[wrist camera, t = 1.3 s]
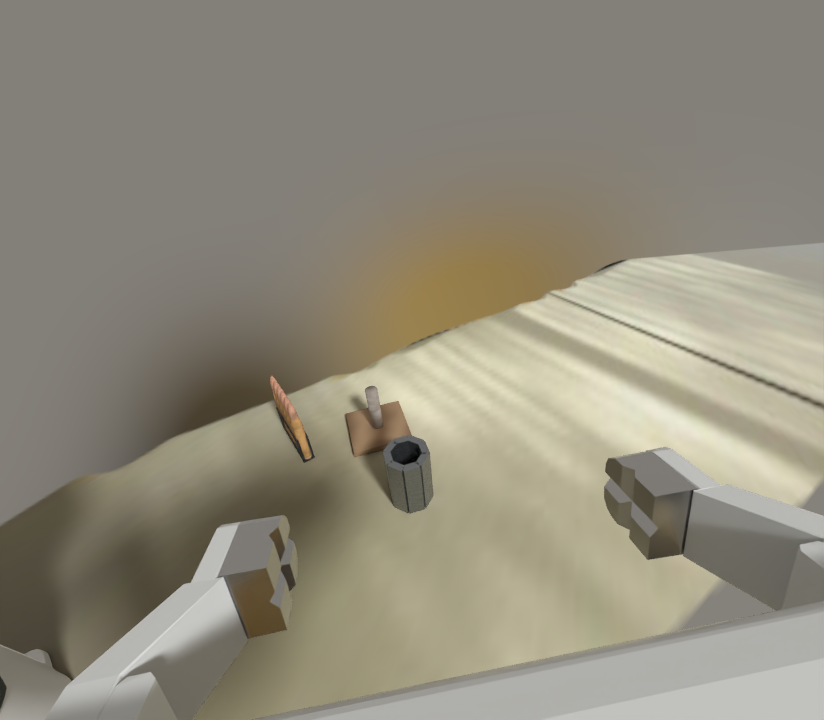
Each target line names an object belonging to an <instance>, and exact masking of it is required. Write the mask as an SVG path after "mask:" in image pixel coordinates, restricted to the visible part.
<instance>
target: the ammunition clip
mask: <svg viewBox="0 0 824 720" xmlns="http://www.w3.org/2000/svg"><path fill="white" fill-rule="evenodd" d="M270 383H271V387H272V390H273V394H274V399H275V402H276V405H277V407H276V408H277V410H278V413H279V416H280V419H281V421H282V424H283V427H284V429H285V430H286V432H287V434H288V436H289V437H290V439H291V441H292V442H293V444H294V446H295V448H296V449H297V451H298V453H299V454H300V456H301V458H302V460H303V461H304V462H306V461H308V460H310V459H312V458H314V454H313V451H312V448H311V445H310V442H309V439H308V436H307V434H306V433H305V431H304V428H303V425H302V422H301V421H300V419H299V417H298V415H297V412H296V410H295V408H294V407H293V405H292V404H291V402H290V401H289V399H288V398H287V396H286V395H285V393H284V392H283V390H282V389H281V387H280V386H279V384H278V383H277V381H276V380H275V378H274V377H273V376H271V377H270Z"/></svg>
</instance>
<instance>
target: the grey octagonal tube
mask: <svg viewBox="0 0 824 720" xmlns="http://www.w3.org/2000/svg"><path fill="white" fill-rule="evenodd" d="M383 457H384V462H385V467H386V473H387V478H388V484H389V489H390V494H391V498H392V502H393V505H394V506H395V508H398V509H400V510H402V511H404V512H406V513H409V512H410V513H413V512H416V511H420V510H423V509H425V508H426V507H427V506H428V504H429V502H430V500H431V499H432V497H433V485H432V474H431V462H430V452H429V450H428V447H427V445H426V443H425V441H424V440H422V439H419V438H416V437H414V436H411V435H410V436H408V435H407V436H403V437H399V438H396V439H393V440H391V441H390V443H389V444H388V445H387V447H386V448H385V449H384V450H383Z"/></svg>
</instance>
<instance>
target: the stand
mask: <svg viewBox="0 0 824 720" xmlns="http://www.w3.org/2000/svg"><path fill="white" fill-rule="evenodd" d="M365 393H366V398H367V403H368V408H367V409H363V410H359V411H355V412H351V413H347V414H346V417H347V422H348V427H349V432H350V436H351V441H352V446H353V451H354V455H355V457H357V456H361V455H365V454H369V453H372V452H376V451H380V450H384V449H385V448H386V447H387V445H388V444H389V443H390V441H391V440H393V439H396V438H399V437H403V436H407V435H408V436H410V435H411V432H410V430H409V427H408V425H407V422H406V419H405V417H404V414H403V412H402V409H401V407H400V404H399V401H396V402H392V403H388V404H384V405H380V402H379V397H378V391H377V388H376V387H375V386H370V387H367V388H366V389H365ZM411 436H412V435H411Z"/></svg>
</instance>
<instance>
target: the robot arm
mask: <svg viewBox="0 0 824 720" xmlns="http://www.w3.org/2000/svg"><path fill="white" fill-rule="evenodd" d="M605 472H606V473H607V474H608V476H609V477H610V479H609V481H608V482H607V484H606V485H605V486H604V499H605V502H606V506H607V509H608V511H609V512H610V514H611V516H612V517H613V519H614V520H615V521H616V522H617V524H619V525H621V526H623V527H625V528H627V529H629V530H630V533H629V538H630V539H631V541H632V542H633V543H634V544H635V545H636V547H637V548H638V549H639V550H640V551H641V553H642V554H643V555H644V556H645V557H646V559H647V560H650V559H657V558H663V557H669V556H675V555H681V554H683V556H684V557H686V558H687V559H689V560H691V561H692V562H694V563H696V564H697V565H699V566H701V567H703V568H704V569H706V570H708V571H709V572H711V573H713V574H715V575H716V576H718V577H720V578H721V579H723V580H725V581H726V582H728V583H730V584H732V585H734V586H735V587H737V588H738V589H740V590H742V591H744V592H745V593H747V594H749V595H750V596H752V597H754V598H756V599H757V600H759V601H761V602H762V603H764V604H766V605H767V606H769V607H771V608H772V609H774V610H776V611H772V612H767V613H762V614H757V615H753V616H748V617H743V618H738V619H733V620H728V621H724V622H719V623H714V624H709V625H705V626H699V627H694V628H690V629H685V630H680V631H675V632H670V633H666V634H661V635H656V636H651V637H646V638H641V639H637V640H632V641H627V642H622V643H617V644H612V645H608V646H603V647H598V648H593V649H588V650H584V651H579V652H574V653H569V654H564V655H560V656H555V657H550V658H545V659H540V660H536V661H531V662H526V663H521V664H516V665H512V666H507V667H502V668H497V669H492V670H487V671H483V672H478V673H473V674H468V675H463V676H459V677H454V678H449V679H444V680H439V681H434V682H430V683H425V684H420V685H415V686H410V687H405V688H401V689H396V690H391V691H386V692H381V693H376V694H371V695H367V696H362V697H357V698H352V699H347V700H342V701H338V702H333V703H328V704H323V705H318V706H313V707H309V708H304V709H299V710H294V711H289V712H285V713H280V714H275V715H270V716H265V717H261V718H256V719H251V720H824V516H822V515H819V514H816V513H813V512H810V511H807V510H804V509H801V508H798V507H795V506H792V505H789V504H786V503H783V502H780V501H777V500H774V499H770V498H767V497H764V496H761V495H758V494H755V493H752V492H749V491H746V490H743V489H740V488H737V487H734V486H731V485H728V484H726V485H720V484H718V483H717V482H716V481H714V480H713V479H712V478H710V477H709V476H708V475H706V474H705V473H704V472H702V471H701V470H700V469H698V468H697V467H696V466H694V465H693V464H692V463H690V462H689V461H688V460H686V459H685V458H683V457H682V456H681V455H679V454H678V453H677V452H675V451H674V450H673V449H671V448H667V447H663V448H658V449H653V450H648V451H646V452H640V453H634V454H629V455H623V456H618V457H612V458H608V460H607V462H606V469H605ZM289 531H290V526H289V523H288V520H287V517H286V516H284V515H280V516H274V517H267V518H261V519H254V520H247V521H242V522H236V523H230V524H224V525H221V526H220V527H218V528H217V529H216V531H215V533H214V535H213V537H212V539H211V541H210V543H209V546H208V548H207V550H206V552H205V554H204V556H203V558H202V560H201V562H200V564H199V566H198V568H197V570H196V572H195V575H194V577H193V579H192V581H191V583H187V584H183V585H182V586H181V587H180V588H179V589H177V590H176V591H175V592H174V593H173V594H172V595H171V596H169V597H168V598H167V599H166V600H165V601H164V602H162V603H161V604H160V605H159V606H158V607H157V608H156V609H154V610H153V611H152V612H151V613H150V614H149V615H148V616H146V617H145V618H144V619H143V620H142V621H141V622H139V623H138V624H137V625H136V626H135V627H134V628H133V629H131V630H130V631H129V632H128V633H127V634H126V635H124V636H123V637H122V638H121V639H120V640H119V641H118V642H116V643H115V644H114V645H113V646H112V647H111V648H110V649H108V650H107V651H106V652H105V653H104V654H103V655H101V656H100V657H99V658H98V659H97V660H96V661H95V662H93V663H92V664H91V665H90V666H89V667H88V668H87V669H85V670H84V671H83V672H82V673H81V674H80V675H78V676H77V677H76V678H75V679H74V680H73V681H71V680H70V679H69V678H68V677H67V676H66V675H64V674H62V673H60V672H58V671H56V670H55V669H54V668H53V667H52V663H51V660H50V657H49V655H48V653H47V652H45V651H43V650H40V649H34V650H31V651H29V652H27V653H25V654H22V653H20V652H18V651H15V650H13V649H10V648H8V647H5V646H3V645H0V720H192V719H193V717H194V716H195V715H196V713H197V712H198V710H199V709H200V708H201V706H202V705H203V703H204V702H205V701H206V699H207V698H208V696H209V695H210V694H211V692H212V691H213V689H214V688H215V687H216V685H217V684H218V682H219V681H220V680H221V678H222V677H223V675H224V674H225V673H226V671H227V670H228V669H229V667H230V666H231V664H232V663H233V662H234V660H235V659H236V657H237V656H238V655H239V653H240V652H241V650H242V649H243V648H244V646H245V645H246V643H247V642H248V639H249V638H253V637H258V636H262V635H267V634H271V633H276V632H280V631H284V630H287V629H288V623H289V618H290V613H291V608H292V603H293V601H292V598H291V595H290V591H291V590H292V588H293V587H294V586H295V585H296V581H297V575H298V556H297V550H296V546H295V543H294V542H293V541H292V540H291V539H289V538H288V535H289Z"/></svg>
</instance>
